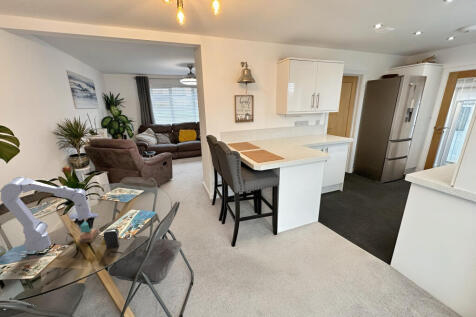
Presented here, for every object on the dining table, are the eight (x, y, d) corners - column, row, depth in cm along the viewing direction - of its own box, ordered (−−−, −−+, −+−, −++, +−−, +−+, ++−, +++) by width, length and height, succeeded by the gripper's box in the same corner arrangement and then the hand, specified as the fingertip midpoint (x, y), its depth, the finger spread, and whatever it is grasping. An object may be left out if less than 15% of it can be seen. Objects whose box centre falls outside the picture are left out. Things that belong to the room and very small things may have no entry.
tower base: (79, 243, 112) (78, 239, 111) (87, 235, 118) (86, 231, 117) (91, 242, 112) (91, 239, 112) (98, 234, 119) (97, 231, 118)
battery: (121, 242, 113) (118, 226, 109) (119, 246, 110) (116, 231, 106) (108, 243, 111) (105, 228, 108) (105, 248, 108) (102, 232, 104)
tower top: (80, 239, 111) (79, 235, 111) (86, 232, 117) (85, 229, 116) (91, 238, 112) (90, 235, 112) (97, 231, 118) (96, 228, 117)
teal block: (81, 232, 111) (80, 225, 110) (86, 227, 115) (84, 221, 114) (89, 232, 112) (87, 225, 110) (93, 227, 116) (91, 221, 114)
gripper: (63, 213, 104) (69, 232, 109) (91, 212, 106) (96, 231, 111) (72, 206, 111) (78, 224, 115) (98, 205, 113) (102, 223, 117)
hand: (87, 227), depth 113 cm, fingers closed on teal block, 4 cm apart
